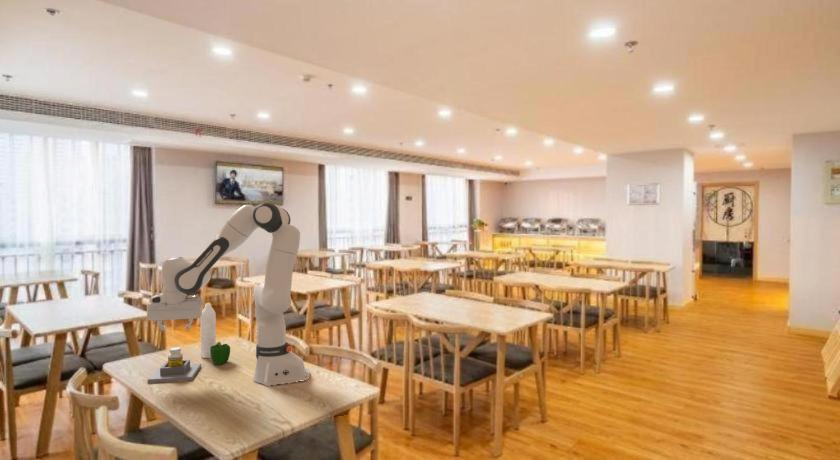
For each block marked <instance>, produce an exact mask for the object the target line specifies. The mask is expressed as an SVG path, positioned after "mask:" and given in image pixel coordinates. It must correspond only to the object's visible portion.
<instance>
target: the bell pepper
mask: <svg viewBox="0 0 840 460" xmlns="http://www.w3.org/2000/svg"><path fill="white" fill-rule="evenodd" d="M210 352H211V361H212V363H213V364H214V365H219V366H220V365H223V364H225V363H227V362H228V361H229V359H230V355H231V347H230V345H229V344H228V343H224V344H222V343H221V341H218V342H217V341H216V345H215V346H211V348H210Z"/></svg>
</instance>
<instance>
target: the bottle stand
mask: <svg viewBox="0 0 840 460" xmlns="http://www.w3.org/2000/svg"><path fill="white" fill-rule="evenodd" d="M201 368H202V363H191V359H183V366H180V367H168V360H166V362H164V364H163V365H159V367H158V368H157V369H156V370H155V371H154V372H153V373H152V374H151V375H150V376H149V377H148V379H147V384H155V383H157V384H158V383H171V382H173V383H174V382H176V383H177V382H188V381H189V382H190V381H193V379H194V377H196V375H197V374H198V372H199V370H200V369H201Z"/></svg>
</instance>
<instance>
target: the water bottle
mask: <svg viewBox="0 0 840 460" xmlns="http://www.w3.org/2000/svg"><path fill="white" fill-rule="evenodd" d="M216 317H217V314H216V310H215V309H214V308H213V307H212V304H211V302H206V303H205V305H204V308H202V316H201V317H200V357H201V358H202V359H210V358H211V352H210V348H211V346H215V345H216V344H217V341H216V340H217V338H216V337H217V322H216V321H217V320H216ZM211 359H212V358H211Z"/></svg>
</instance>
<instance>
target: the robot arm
mask: <svg viewBox="0 0 840 460" xmlns="http://www.w3.org/2000/svg"><path fill="white" fill-rule="evenodd" d="M259 228H261V229H262V230H264V231H265V232H267V233H269V234H271V235H272V236H271V237H272V240H271V244H270V248H269V252H268V255H267V259H266V262H265V263H266V264H265V267H264V268H265V275H264V281H263V282H261V283H258V284H257V285H256V286H255V288H254V290H253V298H254V309H255V311H254V312H255V318H256V327H257V328H256V329H257V339H256V340H257V341H256V343H257V344H256V347H255V358H256V363H255V365H256V366H255V371H254V374H253V377H252V380H253V382H255V383H258V384H263V385H264V386H266V387H271V385H273V386H278V385H277V384H281V385H284V384H283V383H288V384H291V383H290V382H296V381H300V380H305V379H307V378H308V377H309V375H310V376H311V373H310V370H309V368H307V367H305V364H304V361H303V359H302V357H300V356H298V355H297V354H296V353H294V352H292V346H291V345H292V344H291V343H290V342H287V340H286V328H287V327H286V320H285V317H284V313H286V311H288V309H289V308H290V306H291V304H292V299H291V295H292V294H291V293H292V292H291V291H292V283H293V282H292V281H293V274H294V273H293V272H294V268H295V265H296V260H297V258H298V253H299V248H300V242H301V241H300V240H301V232H300V230H299V229H298V228H297V227H296V226H294V225H291V216H290V214H289V212H288V210H285V208H283V207H281V206H280V205H277V204H275V203H272V202H263V203H260V204H258V205H257V206H254V205H251V204H244V205H241V206H240V207H239V208H238V209H237V210H235V211H234V212H233V213H232V214H231V215H230V216H229V217H228V218H227V220H225V222H224V223H223V224H222V226H220V228H219V230H218V231H217V233H216V235H215V236H214V237H213V239H212V240H211V242H210V244H209V245H208V246H207V247H206V249H205V250H204V251H203V252H202V253H201V254H200V255H199V256H198V257H197V258H196V259H195V260H194V261H193V262H191V261H189V260H187V259H186V258H184V257H183V256H177V257H176V256H175V257H172V258H171V257H170V258H168V259H166V260H164V262H163V263H162V266H161V267H162V268H161V282H162V288H161V293H158V294H156V295H152V296H151V297H150V298H149V299H148V300H149V303H150V304H148V307H147V310H146V319H147V320H148V322H150V321H152V322H153V321H157V322H156V323H157V325H158V326H159V328H160V331H162V332H163V331H164V332H165V331H166V329H167V327H166V325H164V324H163V321H169V320H187V321H188V324H185V330H190V329H191V325H192V322H193V321H194V319H201V316H202V310H203V308H202V305H203V299H202V297H200V296H198V295H192V294H194V293H196V292H198V291H199V290H200V289H201V288H203V287H204V286H206V285H207V284H209V282H210V280H211V278H212V272H211V269H212V268H213V266H214V265H216V263H217V262H218V261H219V260H220V259H221V258H222V257H223V256H225V255H227V254H228V253H230V252H233V251H235V250H236V249H238V248H239V247H240V246H242V245H243V243H245V242H247V240H248V238H250V236H251V235H252V234H253V233H254V231H256V230H257V229H259ZM309 378H310V377H309ZM309 378H308V379H309ZM308 379H307V380H308ZM296 383H297V382H296Z"/></svg>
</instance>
